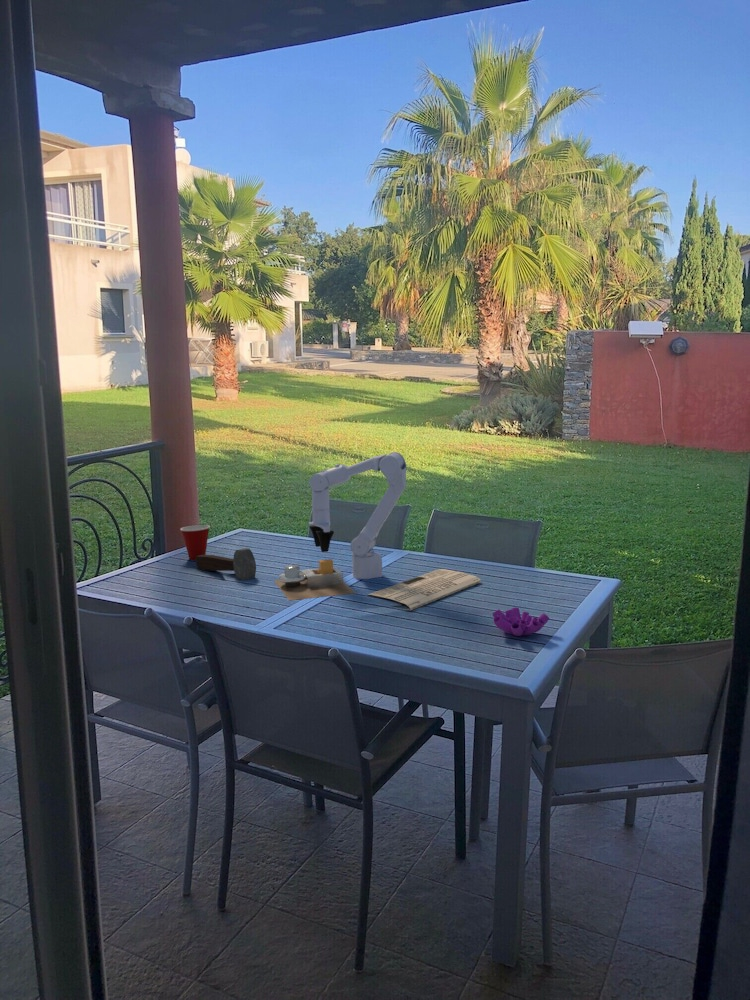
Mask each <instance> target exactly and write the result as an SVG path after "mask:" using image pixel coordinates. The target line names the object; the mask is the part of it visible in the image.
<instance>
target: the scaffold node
mask: <svg viewBox="0 0 750 1000" xmlns="http://www.w3.org/2000/svg"><path fill="white" fill-rule="evenodd" d="M300 568H301V567H300V565H298V564H290V565H285V566H284V569H283V570H284V573H281V574H280V575H278V580H279V581H280V582H284V583H285V586H286V587H298V586H300V582H302V581H303V582H304V584H305V585H306V586H307V587H316V586H325V585H335V584H343V581H344V578H343V572H342V571H341V570H340V569H339V568H338V567H336V566H333V573H325V574H319V567H318V568H312V569H311V568H310V569H309V568H307V569H300ZM300 570H301V571H300Z"/></svg>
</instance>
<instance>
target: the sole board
mask: <svg viewBox="0 0 750 1000" xmlns="http://www.w3.org/2000/svg"><path fill="white" fill-rule="evenodd" d="M274 582H275V584H276V586H277V587H278V588H279V589H280V591H281V593H283V595H284V596H285V597H286V598H287V600H288V601H289V602H290V601H298V600H307V599H316V598H325V597H335V596H342V595H351V594H356V591H354V590H353V588H351V587H350V586H349V585H348V584H347V583H346V582H345V581H344V580H343V584H335V585H325V586H316V587H307V586H306V585H305V584H304V582H303V581H302V582H300V586H298V587H286V586H285V583H284V582H280V581H279V579H278V580H274Z"/></svg>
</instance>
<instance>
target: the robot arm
mask: <svg viewBox="0 0 750 1000" xmlns="http://www.w3.org/2000/svg"><path fill="white" fill-rule="evenodd" d="M407 468H408V467H407V463H406V460H405V458H404V456H403V454H401V453H400V452H397V451H393V452H390V453H389V454H387V453H384V454H380V455H376V456H373V457H371V458H367V459H365V460H363V461H359V462H357V463H355V464H352V465H350V466H348V465H345V464H340V463H337V464H335V465H334V467H332V468H329V469H323V470H321V471H320V472H318V473H314V475H312V476H311V477H310V478H309V481H308V483H309V487H310V489H311V508H312V509H311V510H312V511H311V512H312V513H311V514H312V521H309V523H308V524H309V526H308V527H309V529H310V531H311V532H312V535H313V536H312V537H313V541H314V545H315V547H318V548H319V547H320V550H321V553H325V552H326V553H328V552H329V550H330V545H331V540H332V538H333V535H334V532H335V531H334V530H331V516H330V515H331V512H330V488H333V487H336V486H338V485H341V484H344V483H347V482H350V479H351V478H352V476H355V475H359V474H361V473H364V472H368V471H371V470H373V471H375V472H378V473H379V472H381V474H382V475H383V476H384V478H385V479H386V482H387V484H388V488H387V489H386V490H385V493H384V494H383V496H382V498H381V499H380V501H379V502H378V504H377V506H376V507H375V509H374V511H373V513H372V514H371V515H370V518H369V519H368V521H367V523H366V524H365V526H364V527H363V528H362V530H361V531H360V532H359V534H358V536H356V537H354V538H353V539H352V540H351V542H350V546H349V547H350V551H351V552H352V578H354V579H357V580H369V579H370V580H371V579H374V578H375V579H376V578H382V577H383V559H382V555H381V553H379V552H375V550H374V547H375V546H376V544H377V537H378V535H379V532H380V530H381V529H382V527H383V526H384V524H385V522H386V520H387V519H388V517H389V516H390V514H391V512H392V511H393V509H394V507H395V505H396V504H397V502H398V501H399V498H400V497H401V496H402V494H403V492H404V491H405V490H406V486H407Z"/></svg>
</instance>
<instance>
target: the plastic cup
mask: <svg viewBox="0 0 750 1000" xmlns="http://www.w3.org/2000/svg"><path fill="white" fill-rule="evenodd" d="M210 527H211V526H210V525H208V524H200V525H199V524H196V525H188V526H183V527H180V529H179V530H180V531H181V534H182V536H183V540H184V543H185V544H184V545H185V548H186V551H187V555H188V559H189V560H191V561H196V556H200V555H207V547H208V536H209V531H210Z"/></svg>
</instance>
